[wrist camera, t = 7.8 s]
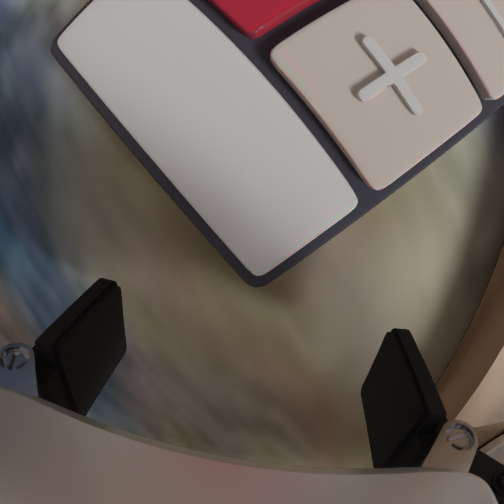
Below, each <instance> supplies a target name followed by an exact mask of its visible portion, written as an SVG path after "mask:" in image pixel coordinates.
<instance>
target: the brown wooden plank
mask: <svg viewBox="0 0 504 504" xmlns="http://www.w3.org/2000/svg"><path fill="white" fill-rule="evenodd" d="M435 387H436V389H437V391H438V394H439V396H440V398H441V401H442V403H443V405H444V408H445V410H446V413H447V415H446V417H447V420H448V421H450V420H455V419H456V420H462V421H464V422H467V423H468V424H469V425H471V426H472V427H473V428H475V427H481V426H487V425H492V424H497V423H502V422H504V243H503V246H502V249H501V252H500V255H499V258H498V261H497V263H496V266H495V269H494V271H493V274H492V276H491V279H490V281H489V284H488V286H487V288H486V291H485V293H484V296H483V298H482V300H481V302H480V305H479V307H478V309H477V311H476V313H475V315H474V317H473V320H472V322H471V324H470V326H469V328H468V330H467V332H466V334H465V336H464V337H463V339H462V341H461V343H460V345H459V347H458V349H457V351H456V352H455V354H454V356H453V358H452V359H451V361H450V363H449V365H448V366H447V368H446V370H445V371H444V373H443V375H442V376H441V378H440V380H439V381H438V383H437V384H436V386H435Z"/></svg>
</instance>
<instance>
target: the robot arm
mask: <svg viewBox="0 0 504 504" xmlns="http://www.w3.org/2000/svg"><path fill="white" fill-rule="evenodd" d="M35 344H36V345H35V346H34V347H33V348H31V347H30V346H28V345H27V344H24V343H12V344H8V345H6V346H4V347H3V348H2V349H0V504H504V434H502V435H500V436H499V437H497V438H496V439H494V440H493V441H491V442H489V443H488V444H487V445H485V446H484V447H482V448H481V449H477V447H478V442H479V440H478V435H477V433H476V431H475V430H474V428H473V427H472V426H471V425H469V424H468V423H467V422H464V421H462V420H456V419H455V420H450V421H448V420H447V417H446V415H447V413H446V410H445V408H444V405H443V403H442V401H441V398H440V396H439V394H438V391H437V389H436V387H435V384H434V382H433V380H432V377H431V375H430V373H429V371H428V368H427V366H426V364H425V362H424V360H423V358H422V355H421V353H420V351H419V349H418V347H417V345H416V343H415V341H414V339H413V337H412V335H411V333H410V331H409V330H407V329H397V328H394V329H392V330H391V332H387V333H386V335H385V337H384V340H383V342H382V344H381V347H380V349H379V351H378V353H377V356H376V358H375V360H374V362H373V364H372V367H371V369H370V371H369V373H368V375H367V377H366V379H365V381H364V383H363V386H362V389H361V398H362V403H363V408H364V414H365V419H366V424H367V430H368V436H369V442H370V448H371V454H372V461H373V467H374V468H369V469H360V468H318V467H303V466H291V465H281V464H272V463H264V462H256V461H249V460H243V459H236V458H231V457H225V456H220V455H215V454H210V453H205V452H200V451H196V450H191V449H187V448H183V447H179V446H175V445H171V444H167V443H164V442H160V441H156V440H153V439H149V438H146V437H143V436H139V435H136V434H133V433H130V432H127V431H124V430H121V429H118V428H115V427H112V426H109V425H107V424H104V423H101V422H99V421H96V420H93V419H91V418H88V417H85V416H86V414H87V413H88V411H89V409H90V408H91V406H92V404H93V403H94V401H95V400H96V398H97V396H98V395H99V393H100V392H101V390H102V388H103V387H104V385H105V384H106V382H107V381H108V379H109V377H110V376H111V374H112V373H113V371H114V370H115V368H116V366H117V365H118V363H119V362H120V360H121V359H122V357H123V356H124V354H125V351H126V337H125V328H124V319H123V308H122V297H121V288H120V287H119V286H117V283H116V282H115V281H112V280H108V279H104V278H100V279H99V280H97V281H96V282H95V283H94V284H93V285H92V286H91V287H90V288H89V289H88V290H87V291H86V292H85V293H83V294H82V295H81V296H80V297H79V298H78V299H77V300H76V301H75V302H74V303H73V304H72V305H71V306H70V307H69V308H68V309H67V310H66V311H65V312H64V313H63V314H62V315H61V316H60V317H58V318H57V319H56V320H55V321H54V322H53V323H52V324H51V325H50V326H49V327H48V328H47V329H46V330H45V331H44V332H43V333H42V334H41V336H40V337H39V338H38V339H37V340H36V341H35Z"/></svg>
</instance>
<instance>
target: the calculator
mask: <svg viewBox="0 0 504 504" xmlns="http://www.w3.org/2000/svg"><path fill="white" fill-rule="evenodd" d="M51 53H52V55H53V56H54V58H55V59H56V60H57V61H58V63H59V64H60V65H61V67H62V68H63V69H64V70H65V72H66V73H67V74H68V75H69V76H70V78H71V79H72V80H73V81H74V83H75V84H76V85H77V86H78V88H79V89H80V90H81V91H82V93H83V94H84V95H85V96H86V97H87V99H88V100H89V101H90V102H91V104H92V105H93V106H94V107H95V108H96V110H97V111H98V112H99V113H100V115H101V116H102V117H103V118H104V119H105V121H106V122H107V123H108V124H109V125H110V127H111V128H112V129H113V130H114V131H115V133H116V134H117V135H118V136H119V137H120V139H121V140H122V141H123V142H124V143H125V145H126V146H127V147H128V148H129V149H130V151H131V152H132V153H133V154H134V155H135V156H136V158H137V159H138V160H139V161H140V162H141V164H142V165H143V166H144V167H145V168H146V169H147V171H148V172H149V173H150V174H151V175H152V176H153V178H154V179H155V180H156V181H157V182H158V183H159V185H160V186H161V187H162V188H163V189H164V190H165V192H166V193H167V194H168V195H169V196H170V197H171V199H172V200H173V201H174V202H175V203H176V204H177V205H178V207H179V208H180V209H181V210H182V211H183V212H184V214H185V215H186V216H187V217H188V218H189V219H190V220H191V222H192V223H193V224H194V225H195V226H196V227H197V228H198V230H199V231H200V232H201V233H202V234H203V235H204V236H205V238H206V239H207V240H208V241H209V242H210V243H211V244H212V245H213V247H214V248H215V249H216V250H217V251H218V252H219V253H220V254H221V256H222V257H223V258H224V259H225V260H226V261H227V262H228V263H229V265H230V266H231V267H232V268H233V269H234V270H235V271H236V272H237V273H238V275H239V276H240V277H241V278H242V279H243V280H244V281H245V282H246V283H247V284H249V285H250V286H253V287H262V286H265V285H267V284H268V283H270V282H271V281H273V280H274V279H276V278H277V277H279V276H280V275H281V274H283V273H284V272H286V271H287V270H288V269H290V268H291V267H293V266H294V265H296V264H297V263H298V262H300V261H301V260H303V259H304V258H305V257H307V256H308V255H310V254H311V253H312V252H314V251H315V250H316V249H318V248H319V247H321V246H322V245H323V244H325V243H326V242H328V241H329V240H330V239H332V238H333V237H334V236H336V235H337V234H338V233H340V232H341V231H343V230H344V229H345V228H347V227H348V226H349V225H351V224H352V223H353V222H355V221H356V220H358V219H359V218H360V217H362V216H363V215H364V214H366V213H367V212H368V211H370V210H371V209H372V208H374V207H375V206H376V205H378V204H379V203H380V202H382V201H383V200H384V199H386V198H387V197H388V196H389V195H391V194H392V193H393V192H395V191H396V190H397V189H399V188H400V187H401V186H403V185H404V184H405V183H407V182H408V181H409V180H410V179H412V178H413V177H414V176H416V175H417V174H418V173H419V172H421V171H422V170H423V169H425V168H426V167H427V166H428V165H430V164H431V163H432V162H434V161H435V160H436V159H437V158H439V157H440V156H441V155H442V154H444V153H445V152H446V151H447V150H449V149H450V148H451V147H452V146H454V145H455V144H456V143H457V142H459V141H460V140H461V139H462V138H464V137H465V136H466V135H467V134H469V133H470V132H471V131H472V130H473V129H475V128H476V127H477V126H478V125H480V124H481V123H482V122H483V121H484V120H486V119H487V118H488V117H489V116H490V115H492V114H493V113H494V112H495V111H496V110H498V109H499V108H500V107H501V106H502V105H504V0H90V1H89V2H88V3H87V4H86V5H85V6H84V7H83V8H82V9H81V10H80V11H79V12H78V13H77V14H76V15H75V16H74V17H73V18H72V19H71V21H70V22H69V23H68V24H67V25H66V26H65V27H64V28H63V29H62V30H61V32H60V33H59V34H58V35H57V36H56V38H55V39H54V41H53V42H52V45H51Z"/></svg>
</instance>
